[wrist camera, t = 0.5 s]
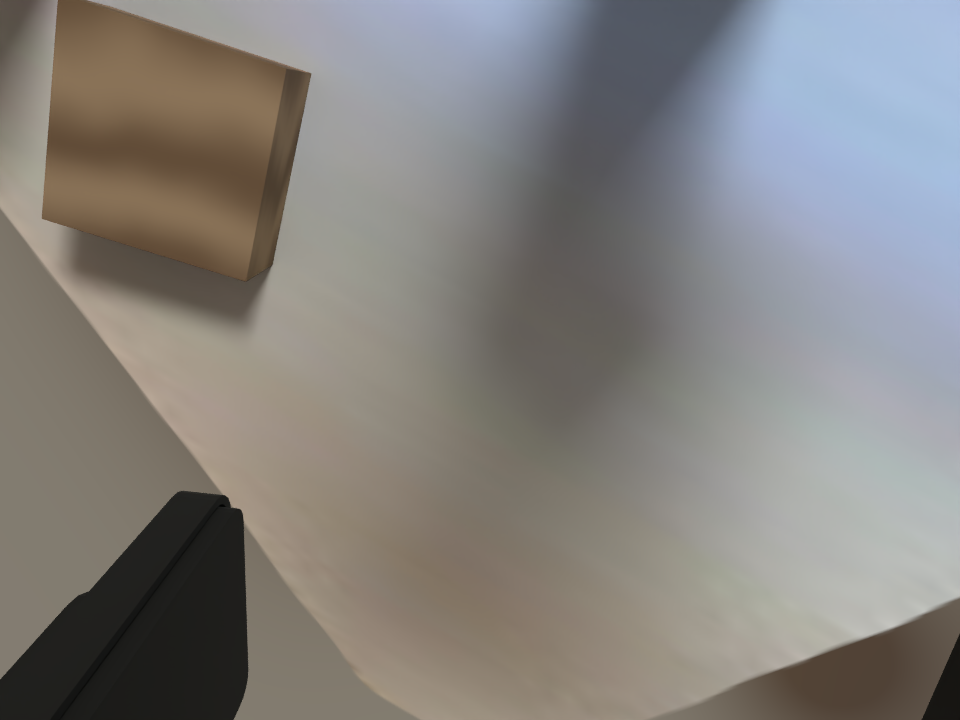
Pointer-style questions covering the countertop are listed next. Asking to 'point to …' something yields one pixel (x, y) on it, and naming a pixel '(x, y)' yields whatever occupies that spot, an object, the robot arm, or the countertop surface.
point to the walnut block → (169, 140)
